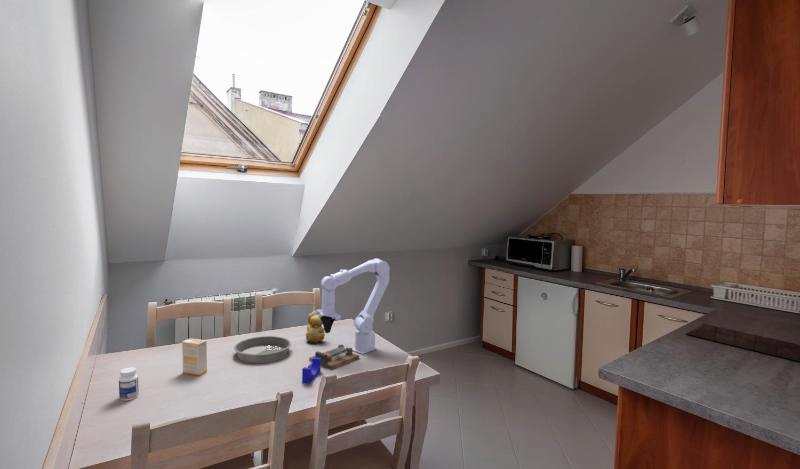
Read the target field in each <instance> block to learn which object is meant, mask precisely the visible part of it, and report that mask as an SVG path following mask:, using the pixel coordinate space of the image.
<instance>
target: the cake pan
mask: <svg viewBox="0 0 800 469" xmlns="http://www.w3.org/2000/svg"><path fill="white" fill-rule="evenodd" d="M268 345H270V346H272V347H271V348H270V349H272V350H267V349H269V348H267V347H266V346H268ZM291 345H292V342H291V340H289V339H287V338H286V337H282V336H275V335H263V336H256V337H255V336H254V337H250V338H245V339H243V340H240V341H239V342H237V343H236V344H234V346H233V349H234V351H235V352H236V355H237V358H239V360H240V361H242V362H245V363H246V362H247V363H253V364H258V363H260V364H261V363H268V362H269V363H270V362H274V361H279V360H280V359H282V358H284V357H285V356H286V355H287V354H288V351H289V348H290V347H291ZM263 346H264V347H265V349H264V350H261V351H260V352H258V353H246V352H244V351H245V350H248V349H251V348H256V347H263ZM275 346H277V347H275ZM273 347H274V348H273ZM279 347H280V348H281V349H280V350H279ZM275 348H278V350H277V349H275ZM273 349H275V350H273Z"/></svg>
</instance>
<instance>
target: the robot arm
mask: <svg viewBox="0 0 800 469" xmlns="http://www.w3.org/2000/svg"><path fill="white" fill-rule="evenodd" d="M390 270H391V268H390V266H389V263H388V262H387V261H385V260H381V258H377V257H376V258H372V259H369V260H367V261H366V262H364V263H362V264H360V265H357V266H356V267H354V268H351V269H349V270H347V269H342V268H341V269H339V271H338V272H336V273H332V274H329V275H330V276H328V275H326V276H323V278H321V281H320V286H321V289H322V290H321V292H322V293H321V309H318V308H317V309H316V310H315V312H316V315H319V314H320V316H322V317H321V318H320V320H321V321H322V323H323V324H322V325H323V328H324V333H325V334H329V333H331V330H332V327H333V325H334V322H335V320H336V321H340V320H341V319H342V318H341V317H342V316H341V315H342V314H341V315H340V314H339V313H337V312H336V311H335V302H336V301H335V300H336V297H335V296H336V293H335V291H336V288H337V287H340V286H342V285H344V284H346V283H348V282H350V281H351V279H352V278H353V277H356V276H358V275H361V274H364V273H366V272H370V273H374V275H375V277H376V282H375V285H374V287H373V288H372V291H371V293H370V296H368V300H367V301H366V303H365V306H364V308H363V309H362V311H360V312H359V314H358V315H357V316H356V317H355V318H354V321H353V325H354V327H355V332H354V334H355V337H354V347H353V348H352V347H351V348H352V352H355V353H359V354H361V355H365V354H367V353H370V352H372V351H375V350H376V349H377V347H376V334H375V331H374V330H373V323H374V321H375V319H374V318H375V317H374V316H375V313H376V310H377V308H378V306H379V304H380V302H381V300H382V297H383V296H384V294H385V292H386V289H387V288H388V285H389V283H390Z"/></svg>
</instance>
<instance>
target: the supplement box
mask: <svg viewBox="0 0 800 469" xmlns="http://www.w3.org/2000/svg"><path fill="white" fill-rule="evenodd" d="M181 343H182V344H181V346H182V347H181V348H182V349H181V350H182V374H187V375H192V376H197V377H199V376H202V375H204V374H205V373H207V371H208V364H207V363H208V360H207V359H208V358H207V357H208V356H207V355H208V354H207V352H208V351H207V350H208V349H207V348H208V347H207V340H204V339H198V338H192V337H191V338H188V339H185V340H182V342H181Z"/></svg>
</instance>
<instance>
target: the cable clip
mask: <svg viewBox="0 0 800 469" xmlns="http://www.w3.org/2000/svg"><path fill="white" fill-rule="evenodd" d="M321 367H322V366H321V358H316V357H314V358H313V359H312V362H311V363H310V364H308V366H307V367H302V369H301V370H302V375H301V384H304V383H305V384H306V385H310V384H311V383H312V382H313V381H314V380H315V379H316V378H317V377H318V375H319V374H320V373H321V371H322V370H321ZM313 379H314V380H313Z"/></svg>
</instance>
